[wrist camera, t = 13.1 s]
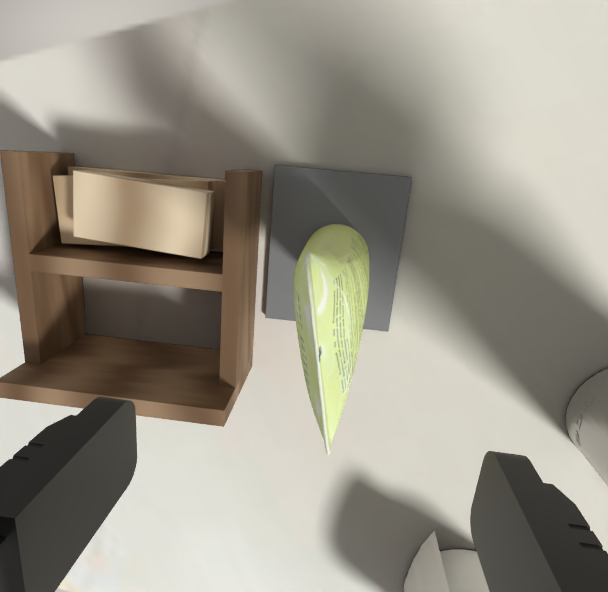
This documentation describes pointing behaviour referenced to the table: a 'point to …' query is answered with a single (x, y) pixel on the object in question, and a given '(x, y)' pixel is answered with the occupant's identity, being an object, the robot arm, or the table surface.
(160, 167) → the table surface
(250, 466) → the table surface
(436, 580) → the toilet tissue
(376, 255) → the mat
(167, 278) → the rack
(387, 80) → the table surface
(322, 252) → the tube
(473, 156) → the table surface
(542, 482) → the robot arm
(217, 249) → the offcut stack
